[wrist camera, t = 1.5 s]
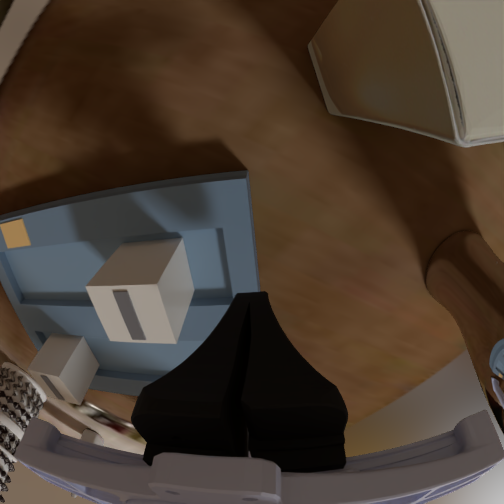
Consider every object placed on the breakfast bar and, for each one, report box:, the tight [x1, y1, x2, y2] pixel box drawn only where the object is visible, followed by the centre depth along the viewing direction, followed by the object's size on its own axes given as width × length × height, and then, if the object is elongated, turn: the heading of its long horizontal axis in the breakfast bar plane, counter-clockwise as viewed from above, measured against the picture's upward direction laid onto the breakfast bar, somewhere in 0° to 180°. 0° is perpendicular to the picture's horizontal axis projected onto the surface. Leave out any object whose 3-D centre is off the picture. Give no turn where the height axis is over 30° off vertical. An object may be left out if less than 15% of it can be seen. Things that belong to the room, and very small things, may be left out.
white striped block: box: [85, 238, 194, 344], centre depth 15 cm, size 4×4×5 cm
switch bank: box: [0, 170, 260, 396], centre depth 20 cm, size 18×22×2 cm
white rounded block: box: [71, 429, 104, 498], centre depth 29 cm, size 4×6×12 cm
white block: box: [27, 333, 100, 405], centre depth 20 cm, size 4×4×5 cm
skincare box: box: [308, 0, 504, 147], centre depth 8 cm, size 6×4×12 cm
